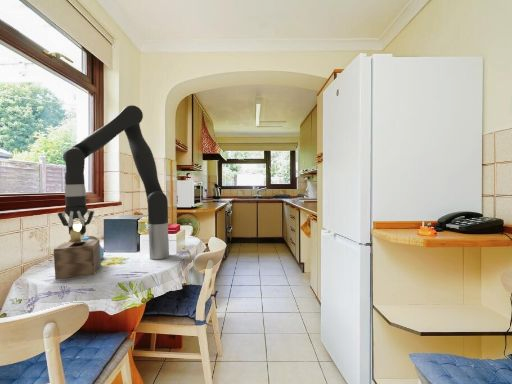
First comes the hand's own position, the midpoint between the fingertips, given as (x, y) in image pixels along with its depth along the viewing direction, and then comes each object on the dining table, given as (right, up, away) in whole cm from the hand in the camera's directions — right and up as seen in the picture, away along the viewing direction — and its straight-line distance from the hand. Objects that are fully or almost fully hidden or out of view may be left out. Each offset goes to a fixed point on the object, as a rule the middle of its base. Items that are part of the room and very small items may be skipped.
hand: (77, 234), depth 124 cm
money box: (0, -16, +1) cm, 16 cm away
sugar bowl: (-6, -16, +18) cm, 24 cm away
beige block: (0, -2, +1) cm, 2 cm away
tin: (-19, -15, +36) cm, 44 cm away
